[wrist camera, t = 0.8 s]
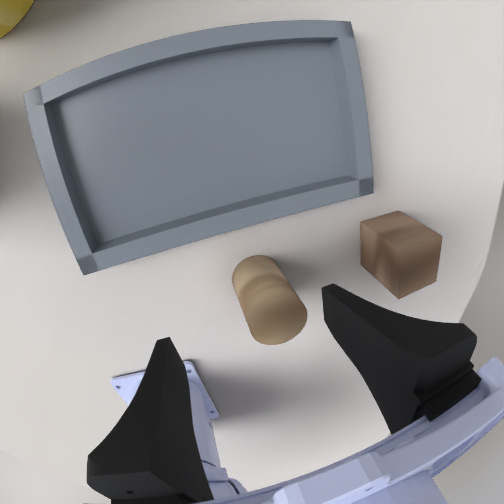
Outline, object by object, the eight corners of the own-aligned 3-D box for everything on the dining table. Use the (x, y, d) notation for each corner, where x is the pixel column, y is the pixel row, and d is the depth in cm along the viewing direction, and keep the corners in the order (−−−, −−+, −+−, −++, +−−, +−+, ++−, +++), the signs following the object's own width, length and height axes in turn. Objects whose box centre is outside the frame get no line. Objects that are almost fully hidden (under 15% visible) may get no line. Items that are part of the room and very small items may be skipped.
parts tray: (358, 185, 21) (373, 193, 20) (90, 261, 19) (83, 275, 17) (335, 27, 16) (350, 21, 14) (36, 95, 13) (23, 94, 11)
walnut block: (396, 251, 25) (435, 281, 20) (360, 264, 25) (398, 299, 20) (397, 210, 23) (442, 235, 19) (359, 221, 23) (402, 251, 18)
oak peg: (281, 289, 24) (309, 333, 19) (237, 303, 23) (256, 351, 18) (275, 249, 22) (304, 289, 17) (227, 263, 21) (244, 308, 17)
